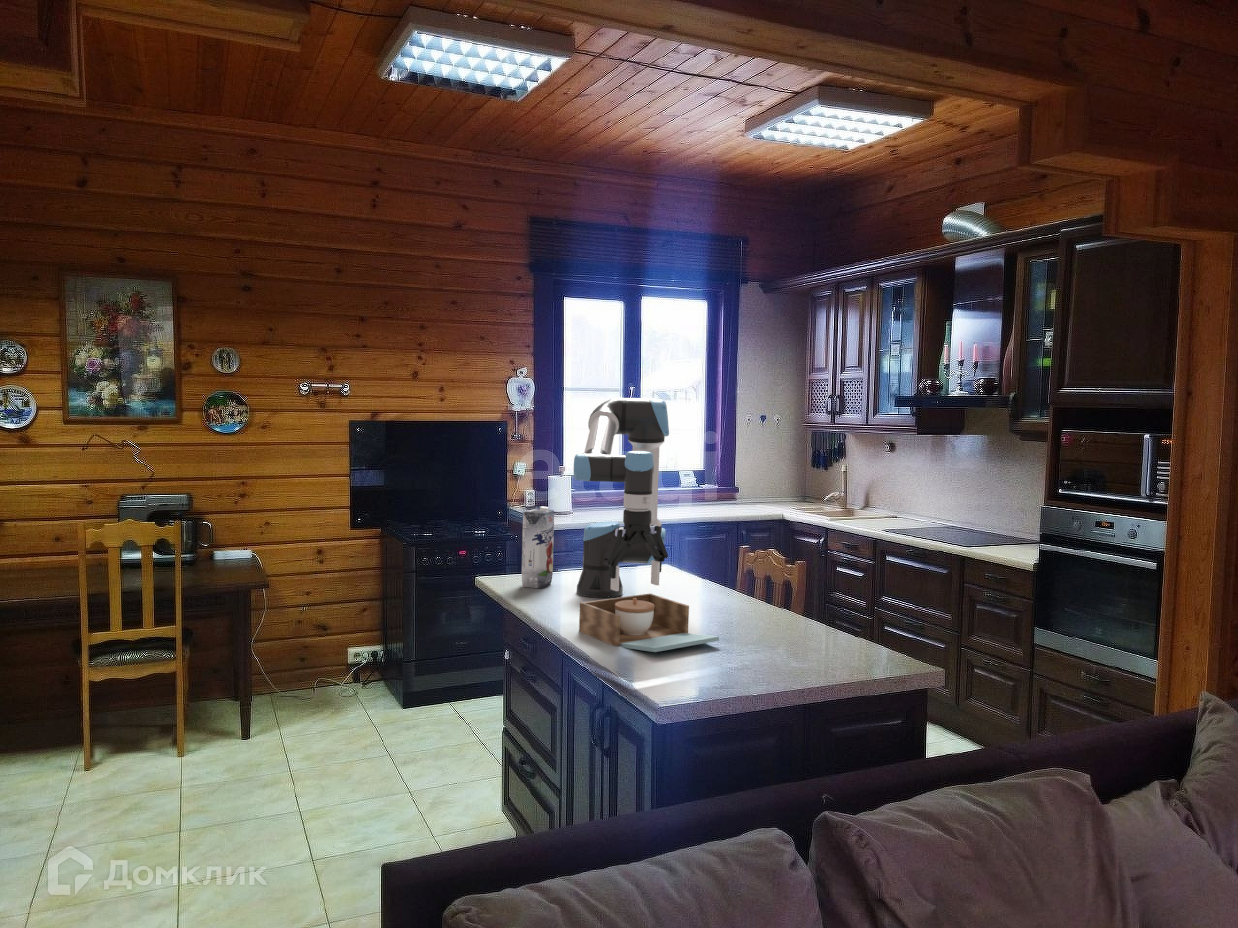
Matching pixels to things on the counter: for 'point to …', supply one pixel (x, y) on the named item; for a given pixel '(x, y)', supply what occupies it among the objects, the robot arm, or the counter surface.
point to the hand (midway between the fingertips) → (635, 587)
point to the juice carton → (537, 547)
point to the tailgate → (669, 642)
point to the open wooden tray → (606, 624)
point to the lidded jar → (635, 616)
